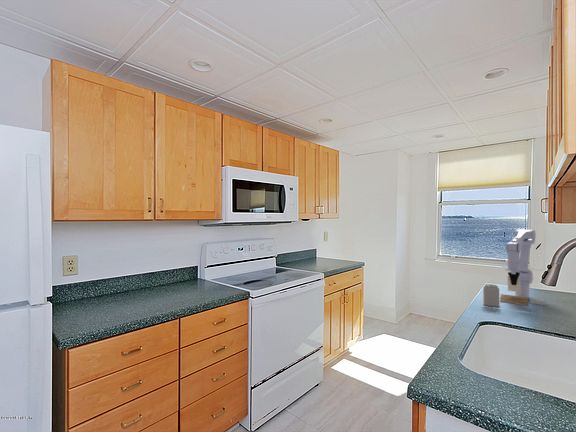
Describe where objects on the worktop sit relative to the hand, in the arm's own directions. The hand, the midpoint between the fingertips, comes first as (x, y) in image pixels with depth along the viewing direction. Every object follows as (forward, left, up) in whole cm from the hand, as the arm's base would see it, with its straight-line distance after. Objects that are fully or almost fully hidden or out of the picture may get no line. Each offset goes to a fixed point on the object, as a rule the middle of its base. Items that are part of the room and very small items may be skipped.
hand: (513, 284), depth 184 cm
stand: (0, +11, -10) cm, 15 cm away
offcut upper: (+6, 0, -8) cm, 10 cm away
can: (+22, -10, -10) cm, 26 cm away
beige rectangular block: (0, 0, -4) cm, 4 cm away
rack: (+3, 0, -10) cm, 10 cm away
